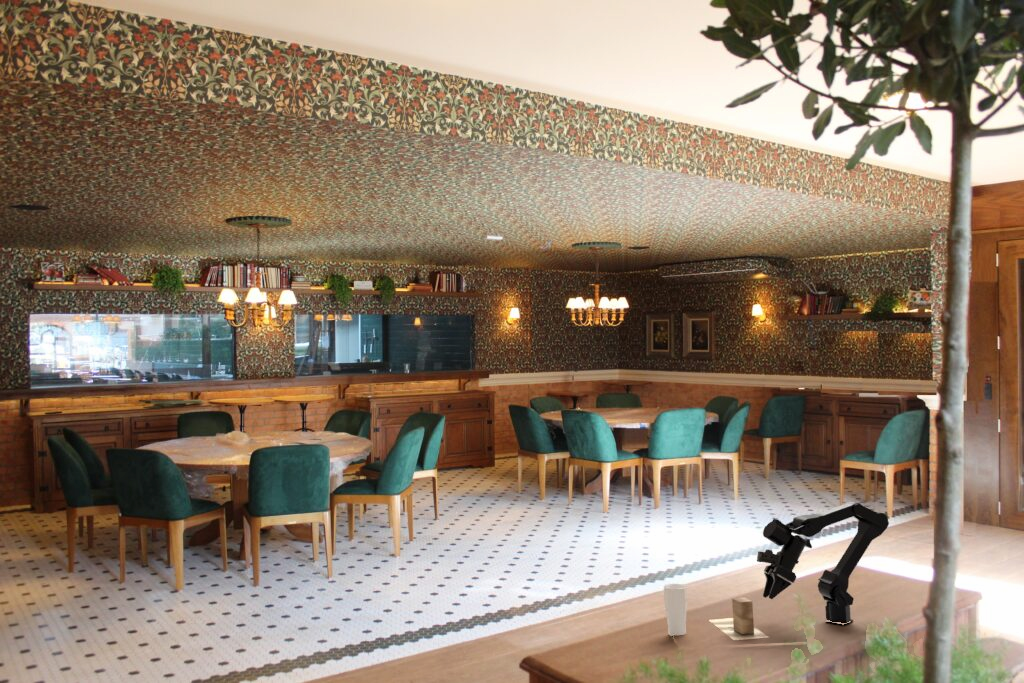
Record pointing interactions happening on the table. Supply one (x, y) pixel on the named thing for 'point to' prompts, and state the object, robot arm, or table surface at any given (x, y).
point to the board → (728, 629)
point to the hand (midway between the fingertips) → (767, 597)
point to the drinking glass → (675, 608)
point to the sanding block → (743, 616)
